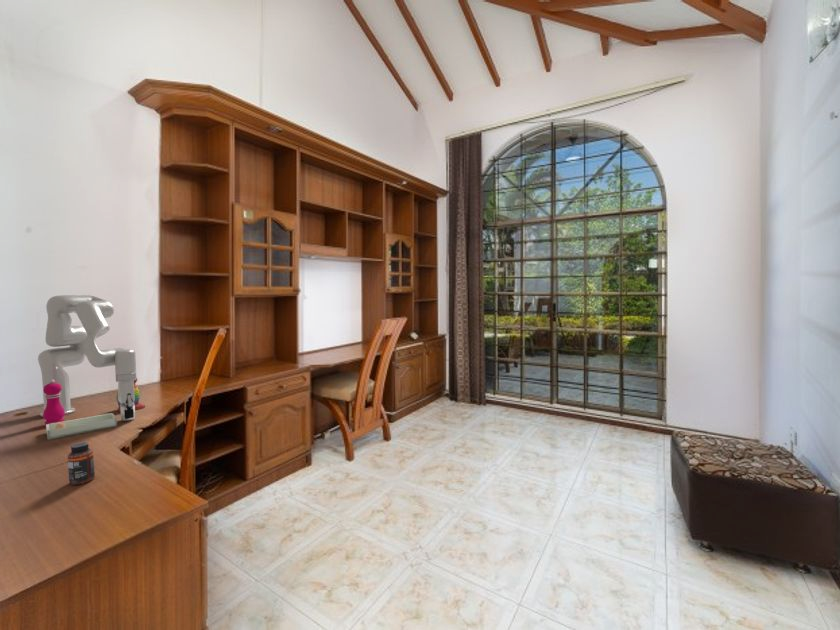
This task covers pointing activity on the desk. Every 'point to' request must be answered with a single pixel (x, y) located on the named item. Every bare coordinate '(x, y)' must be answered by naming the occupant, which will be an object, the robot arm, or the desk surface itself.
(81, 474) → the supplement bottle
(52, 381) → the pepper mill
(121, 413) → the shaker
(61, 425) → the ball
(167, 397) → the desk surface
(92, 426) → the tray
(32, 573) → the desk surface
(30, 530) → the desk surface
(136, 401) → the stacking bear
